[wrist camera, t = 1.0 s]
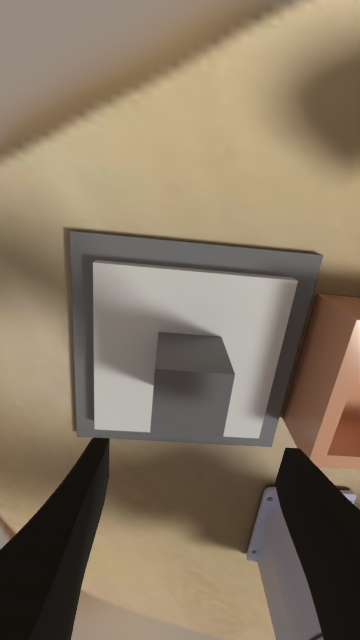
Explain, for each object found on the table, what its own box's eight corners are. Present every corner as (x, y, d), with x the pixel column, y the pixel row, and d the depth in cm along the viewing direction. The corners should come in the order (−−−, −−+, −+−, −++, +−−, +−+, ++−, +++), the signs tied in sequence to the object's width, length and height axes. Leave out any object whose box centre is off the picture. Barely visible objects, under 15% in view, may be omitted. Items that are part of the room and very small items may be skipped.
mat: (269, 443, 24) (271, 446, 24) (78, 432, 23) (76, 436, 23) (319, 254, 19) (323, 255, 18) (71, 230, 18) (69, 231, 17)
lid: (256, 430, 23) (278, 492, 18) (97, 421, 22) (76, 483, 18) (293, 277, 19) (335, 305, 14) (96, 259, 18) (68, 282, 13)
